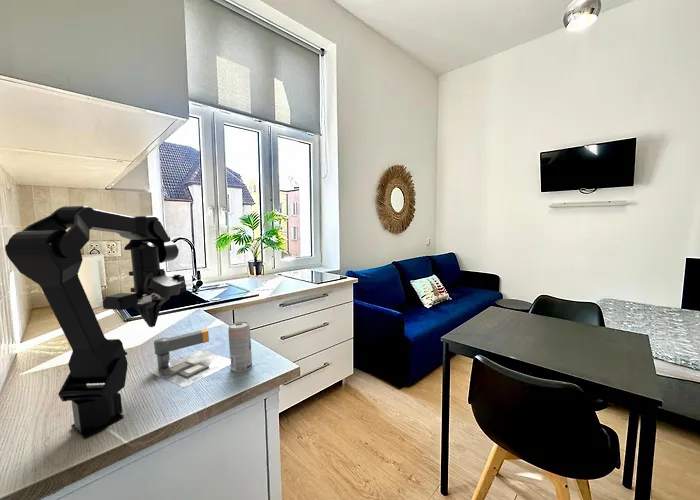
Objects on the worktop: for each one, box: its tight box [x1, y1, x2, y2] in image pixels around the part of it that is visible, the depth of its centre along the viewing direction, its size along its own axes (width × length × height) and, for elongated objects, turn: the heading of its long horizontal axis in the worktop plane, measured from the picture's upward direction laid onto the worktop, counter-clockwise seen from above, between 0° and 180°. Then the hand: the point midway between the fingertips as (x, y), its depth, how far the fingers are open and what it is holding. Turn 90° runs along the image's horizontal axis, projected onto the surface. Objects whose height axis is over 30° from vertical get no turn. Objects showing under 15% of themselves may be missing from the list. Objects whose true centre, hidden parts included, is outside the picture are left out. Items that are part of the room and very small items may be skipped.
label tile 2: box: [164, 361, 195, 376], centre depth 81 cm, size 6×4×1 cm, turn 149°
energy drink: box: [227, 321, 253, 373], centre depth 81 cm, size 5×5×12 cm
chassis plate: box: [148, 349, 231, 389], centre depth 82 cm, size 15×16×4 cm
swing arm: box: [153, 328, 210, 356], centre depth 85 cm, size 13×4×3 cm, turn 130°
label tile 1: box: [178, 363, 209, 378], centre depth 80 cm, size 6×4×1 cm, turn 149°
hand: (152, 326), depth 77 cm, fingers closed
